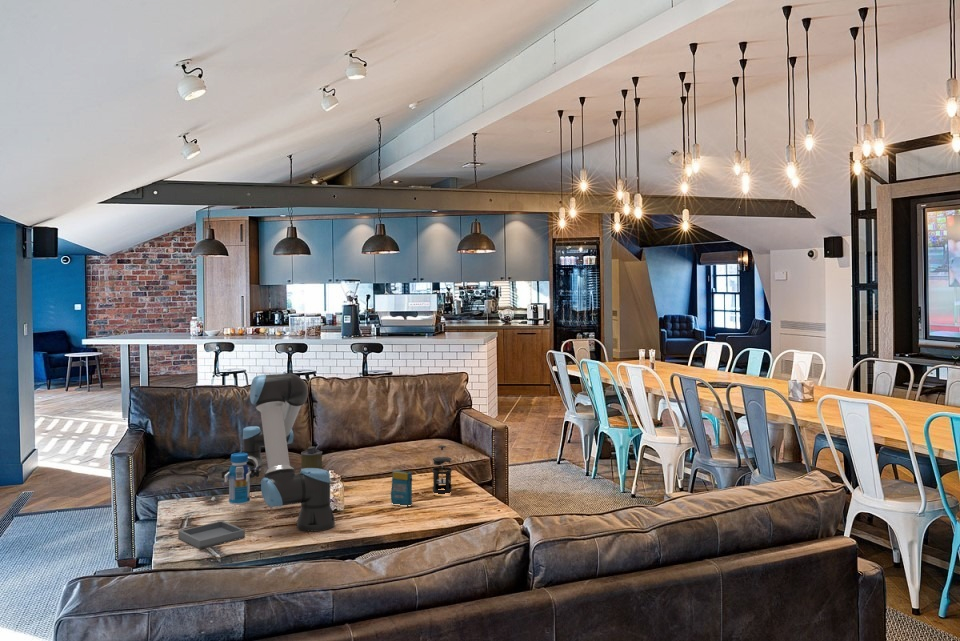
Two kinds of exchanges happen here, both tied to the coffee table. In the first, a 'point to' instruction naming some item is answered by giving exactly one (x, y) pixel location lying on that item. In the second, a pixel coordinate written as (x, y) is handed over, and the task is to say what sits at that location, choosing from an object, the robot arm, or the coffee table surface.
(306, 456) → the canister
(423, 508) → the coffee table surface
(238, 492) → the beverage bottle
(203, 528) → the tray
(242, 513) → the coffee table surface
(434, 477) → the french press
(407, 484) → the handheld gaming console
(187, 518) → the coffee table surface
